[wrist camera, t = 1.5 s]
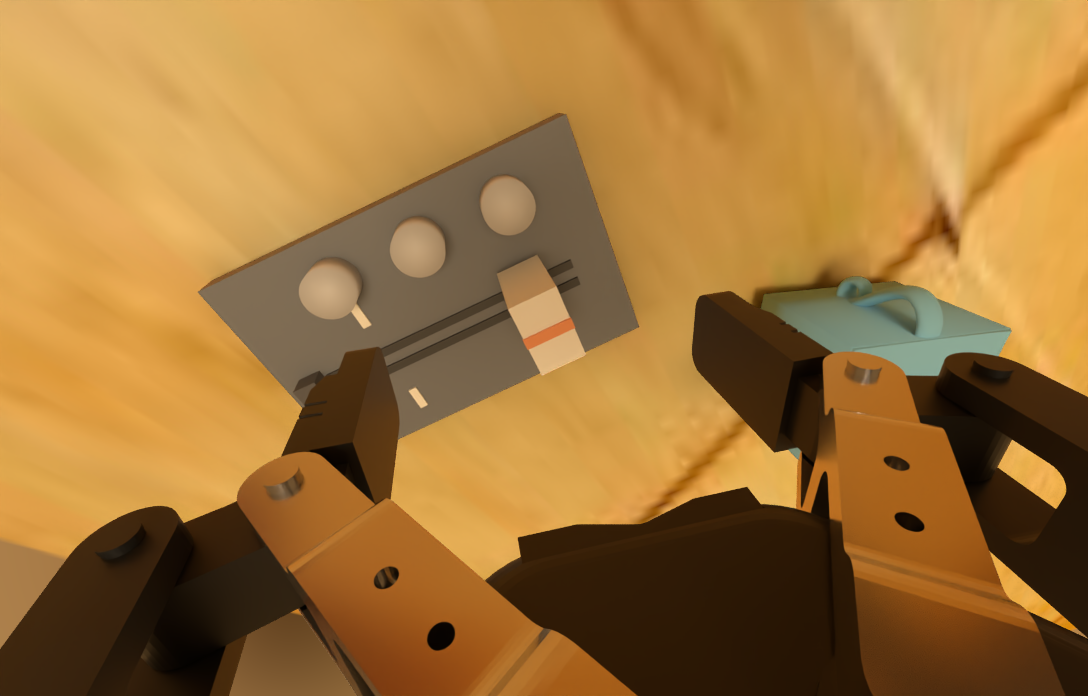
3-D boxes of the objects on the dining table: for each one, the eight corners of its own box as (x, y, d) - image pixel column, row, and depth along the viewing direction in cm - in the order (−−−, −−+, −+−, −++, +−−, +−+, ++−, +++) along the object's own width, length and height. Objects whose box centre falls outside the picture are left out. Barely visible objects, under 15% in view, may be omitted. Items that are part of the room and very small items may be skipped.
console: (558, 113, 30) (576, 115, 26) (630, 316, 38) (651, 341, 34) (211, 280, 30) (178, 307, 26) (354, 444, 38) (345, 483, 35)
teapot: (889, 245, 39) (1065, 304, 28) (836, 397, 47) (959, 491, 36) (691, 262, 36) (802, 335, 25) (669, 420, 44) (747, 531, 33)
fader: (537, 254, 31) (557, 287, 26) (564, 314, 34) (587, 356, 28) (496, 274, 31) (507, 310, 26) (525, 333, 34) (541, 377, 28)
